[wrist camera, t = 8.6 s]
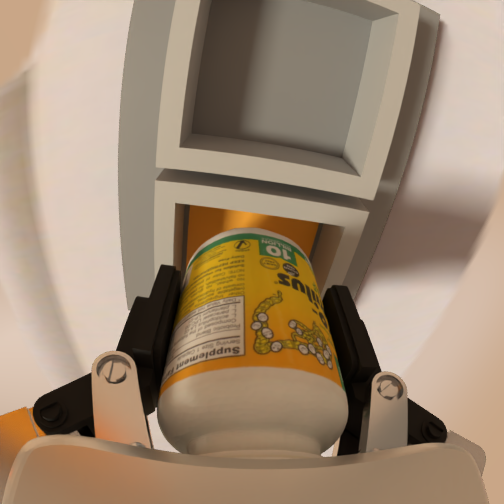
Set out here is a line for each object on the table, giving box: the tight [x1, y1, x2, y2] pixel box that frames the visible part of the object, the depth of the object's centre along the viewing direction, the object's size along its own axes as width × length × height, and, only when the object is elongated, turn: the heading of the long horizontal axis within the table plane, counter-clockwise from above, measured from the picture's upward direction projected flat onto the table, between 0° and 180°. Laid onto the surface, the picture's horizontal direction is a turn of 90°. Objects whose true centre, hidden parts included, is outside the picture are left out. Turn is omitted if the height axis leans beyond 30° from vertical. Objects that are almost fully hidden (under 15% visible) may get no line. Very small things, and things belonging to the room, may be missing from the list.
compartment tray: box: [118, 0, 440, 310], centre depth 12 cm, size 19×13×4 cm
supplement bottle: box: [157, 228, 348, 459], centre depth 9 cm, size 5×5×10 cm
